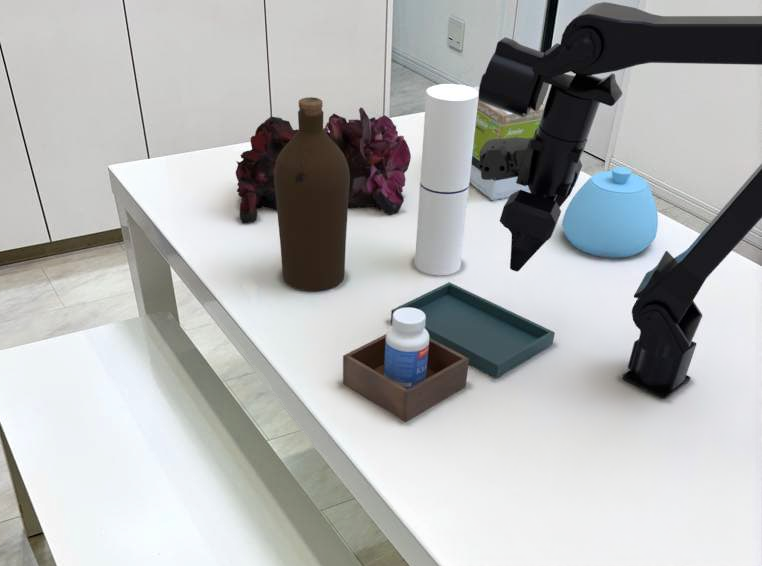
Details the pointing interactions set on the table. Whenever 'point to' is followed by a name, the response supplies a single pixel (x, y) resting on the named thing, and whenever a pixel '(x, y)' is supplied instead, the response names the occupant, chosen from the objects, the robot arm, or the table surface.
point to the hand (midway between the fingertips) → (522, 253)
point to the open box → (369, 381)
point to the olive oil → (312, 204)
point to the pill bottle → (407, 348)
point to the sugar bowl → (612, 215)
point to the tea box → (499, 127)
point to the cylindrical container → (445, 177)
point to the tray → (480, 329)
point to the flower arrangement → (360, 147)
